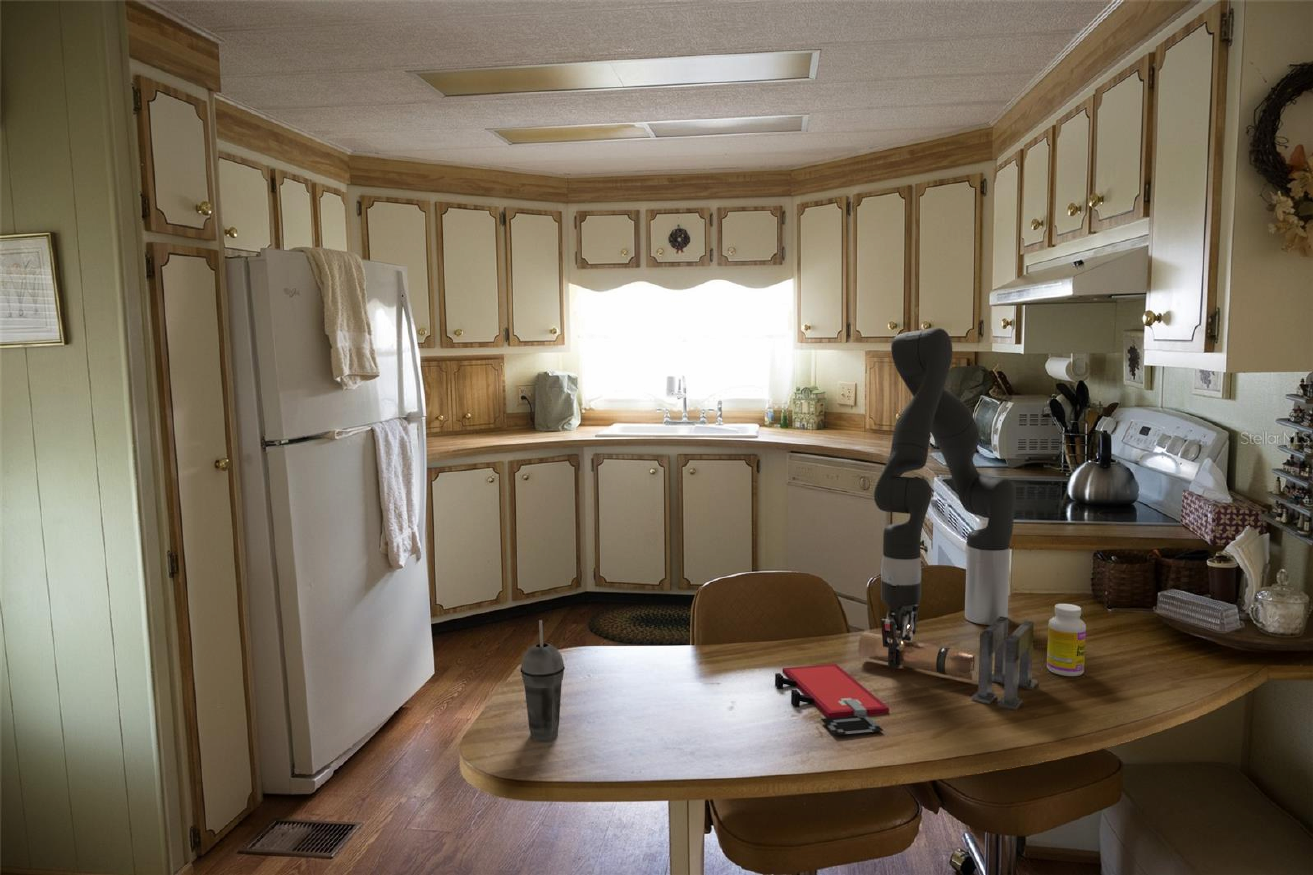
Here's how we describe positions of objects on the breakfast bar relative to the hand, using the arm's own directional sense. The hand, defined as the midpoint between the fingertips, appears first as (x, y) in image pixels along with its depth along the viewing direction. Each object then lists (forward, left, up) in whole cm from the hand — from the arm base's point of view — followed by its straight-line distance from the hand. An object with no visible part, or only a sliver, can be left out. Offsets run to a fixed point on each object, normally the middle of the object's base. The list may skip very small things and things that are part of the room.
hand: (899, 662), depth 178 cm
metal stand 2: (0, +22, -1) cm, 22 cm away
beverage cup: (+62, -37, -2) cm, 72 cm away
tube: (0, +4, 0) cm, 4 cm away
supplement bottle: (-17, +27, -2) cm, 32 cm away
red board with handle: (+22, -4, -2) cm, 22 cm away
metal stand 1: (0, +18, -1) cm, 18 cm away
